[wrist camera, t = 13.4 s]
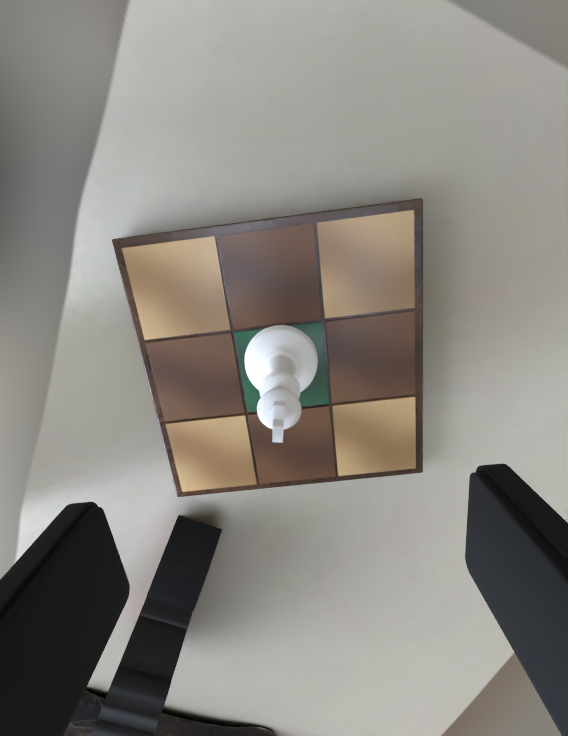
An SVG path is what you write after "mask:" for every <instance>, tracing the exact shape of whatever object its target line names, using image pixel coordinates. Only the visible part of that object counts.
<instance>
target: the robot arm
mask: <svg viewBox="0 0 568 736" xmlns="http://www.w3.org/2000/svg"><path fill="white" fill-rule="evenodd" d="M465 559H466V564H467V568H468V570H469V573H470V575H471V576H472V578H473V580H474V582H475V583H476V585H477V587H478V589H479V590H480V592H481V594H482V596H483V597H484V599H485V601H486V603H487V605H488V606H489V608H490V610H491V612H492V613H493V615H494V617H495V619H496V620H497V622H498V624H499V626H500V627H501V629H502V631H503V633H504V634H505V636H506V638H507V640H508V641H509V643H510V645H511V647H512V649H513V650H514V652H515V654H516V655H517V657H518V659H519V661H520V662H521V664H522V666H523V668H524V669H525V671H526V673H527V675H528V677H529V678H530V680H531V682H532V684H533V685H534V687H535V689H536V691H537V693H538V694H539V696H540V698H541V700H542V701H543V703H544V705H545V707H546V708H547V710H548V712H549V714H550V715H551V717H552V719H553V721H554V722H555V724H556V726H557V728H558V730H559V731H560V733H561V735H562V736H568V523H567V522H566V521H565V520H564V519H563V518H562V517H561V516H560V515H559V514H558V513H557V512H556V511H555V510H554V509H552V508H551V507H550V506H549V505H548V504H547V503H546V502H545V501H544V500H543V499H542V498H541V497H540V496H539V495H538V494H537V493H536V492H535V491H534V490H533V489H532V488H531V487H530V486H529V485H527V484H526V483H525V482H524V481H523V480H522V479H521V478H520V477H519V476H518V475H517V474H516V473H515V472H514V471H513V470H512V469H511V468H510V467H509V466H507V465H506V464H494V465H483V466H479V467H478V468H477V469H476V472H475V473H471V475H470V483H469V500H468V518H467V535H466V552H465ZM129 590H130V587H129V582H128V579H127V576H126V573H125V570H124V567H123V564H122V562H121V559H120V556H119V553H118V550H117V547H116V544H115V542H114V539H113V536H112V533H111V530H110V527H109V525H108V522H107V519H106V516H105V513H104V511H103V509H102V508H101V507H98V506H97V504H96V503H94V502H85V503H74V504H69V505H67V506H66V507H65V508H64V509H63V510H62V511H61V512H60V514H59V515H58V516H57V517H56V518H55V519H54V520H53V521H52V523H51V524H50V525H49V526H48V527H47V528H46V529H45V530H44V531H43V533H42V534H41V535H40V536H39V537H38V538H37V539H36V540H35V542H34V543H33V544H32V545H31V546H30V547H29V548H28V549H27V551H26V552H25V553H24V554H23V555H22V556H21V557H20V558H19V560H18V561H17V562H16V563H15V564H14V565H13V566H12V567H11V569H10V570H9V571H8V572H7V573H6V574H5V575H4V577H2V579H1V580H0V736H64V733H65V731H66V729H67V727H68V725H69V723H70V721H71V719H72V716H73V714H74V712H75V710H76V708H77V706H78V704H79V702H80V699H81V697H82V695H83V693H84V691H85V689H86V687H87V685H88V682H89V680H90V678H91V676H92V674H93V672H94V670H95V668H96V665H97V663H98V661H99V659H100V657H101V655H102V653H103V651H104V648H105V646H106V644H107V642H108V640H109V638H110V636H111V634H112V631H113V629H114V627H115V625H116V623H117V621H118V619H119V617H120V614H121V612H122V610H123V608H124V606H125V604H126V602H127V599H128V596H129Z"/></svg>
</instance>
